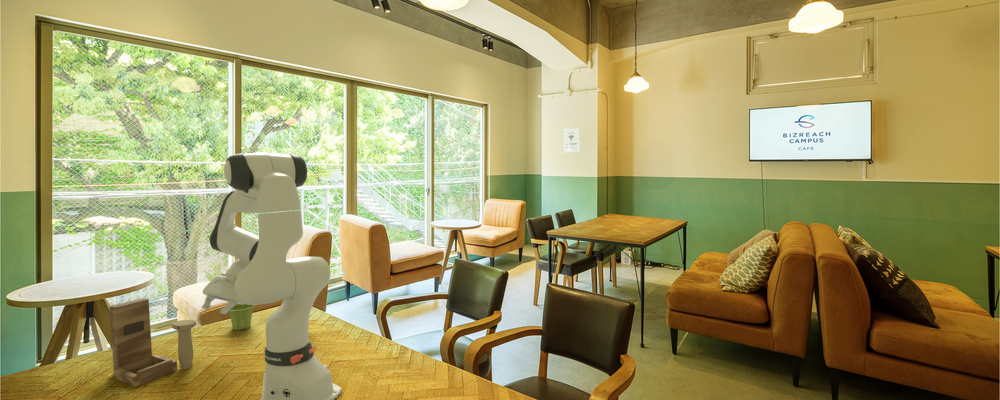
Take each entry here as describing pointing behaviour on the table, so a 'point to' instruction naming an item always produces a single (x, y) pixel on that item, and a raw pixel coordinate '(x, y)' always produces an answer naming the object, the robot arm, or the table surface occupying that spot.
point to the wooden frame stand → (135, 344)
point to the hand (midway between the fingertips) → (213, 311)
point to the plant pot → (241, 316)
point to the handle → (185, 342)
